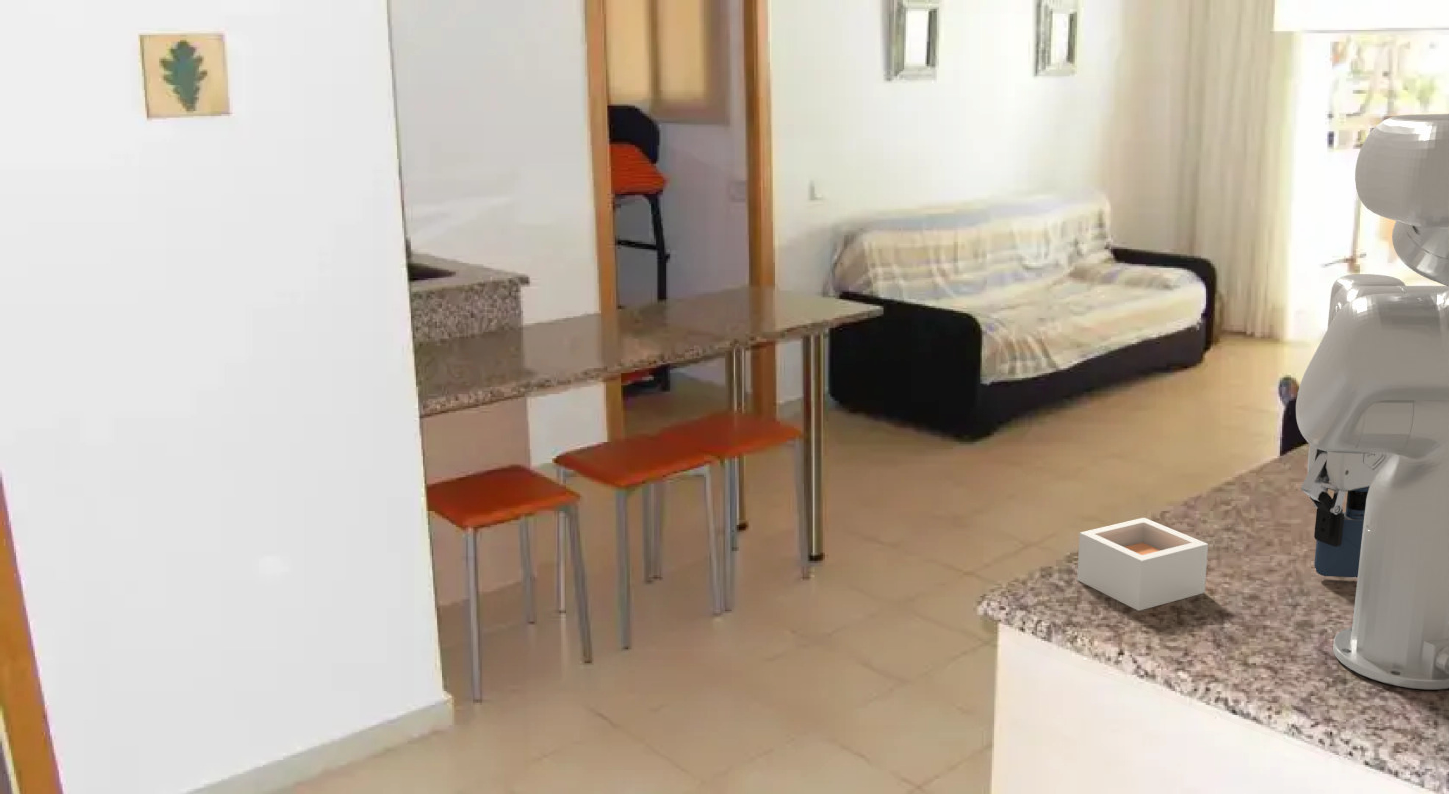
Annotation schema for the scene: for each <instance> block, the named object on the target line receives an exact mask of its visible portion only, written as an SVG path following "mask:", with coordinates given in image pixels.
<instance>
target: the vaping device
mask: <svg viewBox="0 0 1449 794" xmlns="http://www.w3.org/2000/svg"><path fill="white" fill-rule="evenodd" d="M1369 487H1370V486H1369ZM1369 487H1365V488H1361V489H1356V490H1352V491H1347V492H1346V494H1347V496H1346V506H1345V511H1344V508H1343V506H1342V507H1341V511H1340V513H1343V514H1344V523H1343V533H1342V542H1341V545H1340V546H1337V547H1334V546H1332V545H1329V544H1326V543H1324V542H1321V541H1318V540H1316V539H1315V542H1316V543H1315V551H1314V562H1313V563H1314V564H1313V565H1314V568H1315V572H1316V573H1317V574H1318V575H1320V576H1324V577H1334V578H1336V577H1337V578H1358V570H1359V560H1360V551H1361V542H1362V533H1363V524H1364V515H1365V506H1366V498H1367V493H1368V490H1369Z"/></svg>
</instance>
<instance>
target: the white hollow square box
mask: <svg viewBox="0 0 1449 794" xmlns="http://www.w3.org/2000/svg"><path fill="white" fill-rule="evenodd" d="M1078 539H1079V540H1078V557H1077V560H1078V562H1077V579H1076V580H1077V581H1079V582H1081V583H1082V584H1084V585H1086V586H1088V587H1090V588H1092V589H1095V590H1097V591H1099V592H1100V593H1102V594H1104V595H1106V596H1108V597H1110V598H1112V599H1114V600H1115V601H1118V602H1120V603H1122V604H1124V605H1126V606H1128V607H1130V608H1132V609H1134V610H1136V611H1137V612H1140V611H1143V610H1147V609H1151V608H1154V607H1158V606H1161V605H1165V604H1169V603H1172V602H1175V601H1180V600H1183V599H1187V598H1190V597H1195V596H1198V595H1202V594H1205V590H1206V577H1207V563H1208V551H1209V543H1206V542H1205V541H1202V540H1200V539H1197V538H1195V537H1193V536H1190V535H1187V534H1185V533H1182V532H1180V531H1177V530H1175V529H1173V528H1171V527H1168V526H1165V525H1163V524H1161V523H1158V522H1156V521H1153V520H1151V519H1149V518H1146V517H1140V518H1136V519H1132V520H1127V521H1123V522H1119V523H1114V524H1111V525H1107V526H1102V527H1097V528H1093V529H1089V530H1085V531H1081V532H1080V531H1079V538H1078ZM1139 543H1145V544H1147V545H1149V546H1152V547H1154V548H1156V549H1158V550H1161V551H1157V552H1153V553H1149V554H1145V555H1140V554H1138V553H1136V552H1134V551H1131V550H1129V549H1127V548H1125V547H1126V546H1131V545H1135V544H1139Z"/></svg>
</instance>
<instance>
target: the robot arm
mask: <svg viewBox="0 0 1449 794" xmlns="http://www.w3.org/2000/svg"><path fill="white" fill-rule="evenodd" d="M1354 172H1355V173H1354V175H1355V176H1354V181H1355V188H1356V192H1357V195H1358V198H1359V200H1360V201H1361V203H1362V205H1363V206H1364V207H1365V208H1366V209H1367V210H1369V211H1370V212H1371V213H1373V214H1375V215H1377V216H1380V217H1382V218H1386V219H1389V220H1392V221H1395V223H1394V225H1393V229H1392V235H1391V239H1392V245H1393V248H1394V252H1395V254H1396V255H1397V257H1398V258H1399V259H1400V260H1401V262H1402V263H1403V264H1404V265H1405V266H1407V268H1409V269H1410V270H1412V271H1413V272H1414V273H1416V274H1418V275H1420V276H1422V277H1423V278H1425V279H1427V280H1430V281H1433V282H1436V283H1438V284H1441V285H1406V284H1405V282H1403V281H1402V280H1401V279H1400V278H1396V277H1394V276H1390V275H1383V274H1374V273H1373V274H1370V273H1361V274H1360V273H1357V274H1354V273H1353V274H1347V275H1343V276H1340V277H1339V278H1338V279H1336V280H1335V281H1334V283H1333V284H1332V287H1331V291H1330V299H1329V311H1328V318H1327V319H1328V322H1327V330H1326V331H1325V334H1324V335H1323V337H1322V339H1321V341H1320V342H1319V345H1318V347H1317V348H1316V351H1315V352H1314V354H1313V355H1312V358H1311V360H1310V362H1309V363H1308V365H1307V367H1306V369H1305V371H1304V374H1303V375H1302V378H1301V381H1300V383H1299V387H1298V391H1297V396H1296V402H1295V419H1296V423H1297V427H1298V430H1299V431H1300V434H1301V435H1302V437H1303V438H1304V439H1305V441H1306V442H1307V443H1308V444H1309V448H1308V456H1307V475H1306V477H1305V479H1304V480H1303V482H1302V484H1301V486H1300V490H1301V491H1302V492H1303V493H1304V494H1306V495H1307V496H1308V497H1309V498H1310V499H1311V500H1312V501H1311V502H1313V503H1312V504H1313V507H1314V508H1315V509H1316V513H1315V524H1314V534H1313V535H1314V539H1315V541H1316V540H1318V541H1321V542H1324V543H1326V544H1329V545H1332V546H1334V547H1337V546H1340V545H1341V542H1342V533H1343V523H1344V514H1343V513H1340V511H1341V507H1343V503H1344V500H1345V496H1346V494H1347V492H1348V491H1352V490H1356V489H1361V488H1365V487H1369V486H1370V487H1369V490H1368V493H1367V498H1366V506H1365V515H1364V524H1363V533H1362V542H1361V551H1360V560H1359V570H1358V577H1357V580H1356V588H1355V600H1354V606H1353V607H1354V608H1353V616H1352V617H1353V618H1352V626H1351V627H1347V628H1345V629H1342V630H1341V631H1340V632H1338V633H1336V635H1335V637H1334V639H1333V646H1332V649H1333V650H1332V651H1333V654H1334V655H1335V658H1336V659H1337V660H1338V661H1339V662H1340V663H1341V664H1342V665H1344V666H1345V667H1346V668H1348V669H1349V670H1351V671H1353V672H1355V673H1356V674H1359V675H1360V676H1363V677H1366V678H1368V679H1371V680H1374V681H1377V682H1380V683H1383V684H1387V685H1392V686H1396V687H1400V688H1408V689H1415V690H1416V689H1417V690H1445V689H1449V113H1439V114H1438V113H1437V114H1436V113H1434V114H1432V113H1431V114H1427V113H1424V114H1423V113H1422V114H1402V115H1394V116H1391V117H1388V118H1386V119H1384V120H1382V121H1381V122H1380V123H1378V124H1376V126H1375V127H1374V128H1373V129H1372V130H1371V131H1370V132H1369V134H1368V135H1367V136H1366V138H1365V140H1364V142H1363V144H1362V146H1361V148H1360V150H1359V153H1358V156H1357V158H1356V164H1355V171H1354ZM1329 490H1331V491H1334V493H1333V496H1331V494H1329V493H1328V492H1329Z"/></svg>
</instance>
